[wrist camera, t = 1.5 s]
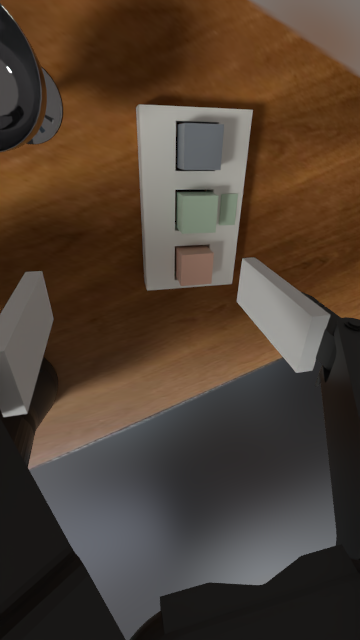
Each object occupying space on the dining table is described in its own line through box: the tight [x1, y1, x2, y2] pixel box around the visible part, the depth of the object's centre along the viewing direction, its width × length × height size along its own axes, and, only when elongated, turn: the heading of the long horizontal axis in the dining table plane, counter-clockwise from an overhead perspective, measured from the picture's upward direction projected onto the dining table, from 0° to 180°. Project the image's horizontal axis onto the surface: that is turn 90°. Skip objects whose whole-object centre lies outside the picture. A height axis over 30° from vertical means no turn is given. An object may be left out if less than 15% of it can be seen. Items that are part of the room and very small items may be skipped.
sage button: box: [176, 191, 218, 234], centre depth 34 cm, size 4×4×3 cm
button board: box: [136, 104, 253, 291], centre depth 36 cm, size 20×12×3 cm, turn 179°
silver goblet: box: [0, 4, 63, 153], centre depth 23 cm, size 8×8×15 cm
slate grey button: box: [177, 123, 224, 170], centre depth 31 cm, size 4×4×3 cm
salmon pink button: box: [176, 246, 214, 286], centre depth 37 cm, size 4×4×3 cm
